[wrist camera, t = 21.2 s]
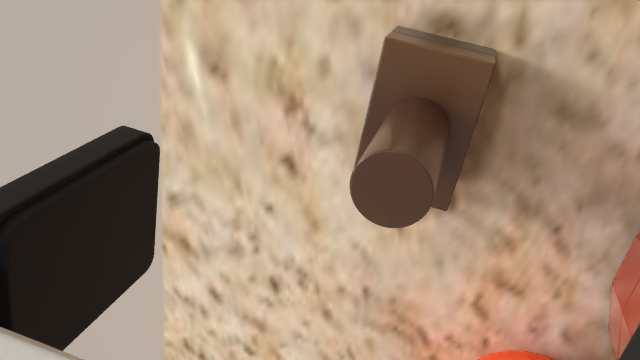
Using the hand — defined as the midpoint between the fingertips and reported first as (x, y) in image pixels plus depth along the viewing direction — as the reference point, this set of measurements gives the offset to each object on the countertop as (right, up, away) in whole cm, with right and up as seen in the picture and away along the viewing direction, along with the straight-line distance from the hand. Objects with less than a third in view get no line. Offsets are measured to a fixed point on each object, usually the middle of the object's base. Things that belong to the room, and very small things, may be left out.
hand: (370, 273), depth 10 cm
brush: (+4, +5, +13) cm, 15 cm away
